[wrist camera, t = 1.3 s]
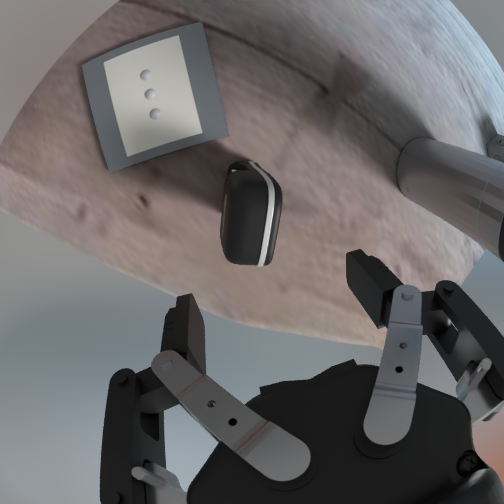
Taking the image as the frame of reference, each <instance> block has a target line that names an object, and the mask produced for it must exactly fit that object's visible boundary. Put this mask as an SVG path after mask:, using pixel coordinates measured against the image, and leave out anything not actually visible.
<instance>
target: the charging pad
mask: <svg viewBox="0 0 504 504" xmlns="http://www.w3.org/2000/svg"><path fill="white" fill-rule="evenodd" d="M82 69H83V74H84V79H85V84H86V89H87V93H88V98H89V102H90V106H91V110H92V114H93V118H94V122H95V126H96V130H97V133H98V137H99V140H100V144H101V147H102V150H103V154H104V157H105V160H106V163H107V166H108V170H109V173H113V172H115V171H118V170H120V169H123V168H126V167H128V166H131V165H134V164H137V163H139V162H142V161H145V160H148V159H151V158H154V157H157V156H160V155H163V154H166V153H170V152H173V151H176V150H179V149H183V148H186V147H190V146H193V145H197V144H200V143H204V142H208V141H212V140H215V139H219V138H223V137H228V136H229V132H228V128H227V124H226V119H225V115H224V111H223V107H222V103H221V98H220V94H219V90H218V86H217V82H216V77H215V73H214V69H213V65H212V61H211V57H210V53H209V48H208V44H207V40H206V36H205V32H204V28H203V24H202V22H198V23H193V24H189V25H185V26H181V27H178V28H174V29H171V30H167V31H164V32H161V33H157V34H154V35H151V36H148V37H145V38H143V39H140V40H137V41H134V42H132V43H129V44H127V45H124V46H122V47H119V48H117V49H114V50H112V51H110V52H108V53H105V54H103V55H101V56H99V57H97V58H95V59H93V60H91V61H89V62H87V63H85V64H83V65H82Z"/></svg>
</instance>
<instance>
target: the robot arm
mask: <svg viewBox="0 0 504 504" xmlns="http://www.w3.org/2000/svg"><path fill="white" fill-rule="evenodd" d="M397 179H398V184H399V187H400V189H401V191H402V193H403V194H404V195H405V197H407V198H408V199H410V200H411V201H413V202H415V203H416V204H418V205H420V206H422V207H423V208H425V209H427V210H428V211H430V212H432V213H433V214H435V215H436V216H438V217H440V218H441V219H443V220H445V221H446V222H448V223H449V224H451V225H452V226H454V227H455V228H457V229H459V230H460V231H462V232H463V233H464V234H466V235H467V236H469V237H470V238H472V239H473V240H475V241H476V242H478V243H479V244H480V245H482V246H483V247H485V248H486V249H487V250H489V251H490V252H491V253H493V254H494V255H496V256H497V257H498V258H499V259H501V260H502V261H503V262H504V163H502V162H500V161H497V160H495V159H492V158H489V157H487V156H484V155H481V154H478V153H475V152H472V151H469V150H466V149H463V148H460V147H457V146H453V145H450V144H446V143H443V142H439V141H436V140H432V139H428V138H423V137H422V138H416V139H413V140H412V141H410V142H409V143H408V144H407V145H406V146H405V148H404V149H403V151H402V153H401V155H400V158H399V161H398V166H397ZM346 278H347V283H348V286H349V288H350V289H351V291H352V292H353V294H354V295H355V296H356V298H357V299H358V301H359V302H360V303H361V305H362V306H363V308H364V309H365V311H366V312H367V314H368V315H369V316H370V318H371V319H372V321H373V322H374V324H375V325H376V327H377V328H378V329H380V328H382V327H385V326H386V327H387V329H388V330H387V335H386V340H385V345H384V350H383V355H382V358H381V363H380V367H378V366H375V365H366V364H364V365H363V364H362V365H357V364H356V362H355V360H354V359H352V360H349V361H346V362H344V363H341V364H338V365H335V366H332V367H330V368H329V369H327V370H325V371H324V372H322V373H320V374H318V375H317V376H315V377H313V378H311V379H308V380H295V381H282V382H279V383H275V384H271V385H267V386H263V387H260V392H261V394H259V395H257V396H256V397H254V398H252V399H251V400H250V401H248V402H247V403H246V404H245V405H244V404H243V403H242V402H240V401H239V400H238V399H236V398H235V397H234V396H232V395H231V394H230V393H229V392H227V391H226V390H225V389H224V388H222V387H221V386H220V385H218V384H217V383H216V382H215V381H214V380H213V379H211V378H210V377H209V376H208V375H206V359H205V327H204V321H203V317H202V315H201V312H200V310H199V308H198V305H197V303H196V301H195V298H194V296H193V294H192V293H190V294H186V295H182V296H178V297H177V301H176V307H174V308H170V309H169V311H168V313H167V314H166V316H165V323H164V329H163V330H164V331H163V336H162V343H161V351H160V353H159V354H158V355H156V356H155V358H154V359H153V361H152V363H151V367H149V368H147V369H145V370H143V371H140V372H138V373H136V374H135V372H134V371H133V370H131V369H128V368H125V369H121V370H119V371H117V372H116V373H115V374H114V375H113V376H112V378H111V380H110V384H109V390H108V396H107V403H106V410H105V418H104V427H103V439H102V450H101V467H100V501H101V504H504V488H503V485H502V483H501V481H500V479H499V476H498V475H497V473H496V472H495V471H494V470H493V469H492V468H491V467H490V466H488V465H487V464H486V463H485V462H484V461H482V459H481V458H480V457H479V456H478V455H477V453H476V451H475V448H474V444H473V438H472V427H473V426H474V425H476V424H477V423H479V422H480V421H489V420H491V419H492V418H494V416H496V415H497V414H498V413H499V411H500V410H501V409H502V408H503V407H504V337H503V336H502V335H501V333H500V332H499V331H498V329H497V328H496V327H495V326H494V325H493V323H492V322H491V321H490V320H489V319H488V317H487V316H486V315H485V314H484V313H483V312H482V311H481V309H480V308H479V307H478V306H477V305H476V304H475V303H474V302H473V301H472V299H471V298H470V297H469V296H468V295H467V294H466V293H465V292H464V291H463V290H462V289H461V288H460V287H459V286H458V285H457V284H456V283H454V282H452V281H449V280H443V281H440V282H438V283H437V284H436V287H435V290H434V291H426V292H421V291H420V290H419V289H418V288H417V287H415V286H412V285H404V284H403V283H402V282H401V281H400V280H399V279H398V278H397V277H396V276H395V275H394V274H393V273H392V272H391V271H390V270H389V268H388V267H387V266H385V264H384V263H383V262H382V261H381V260H380V259H378V258H376V257H373V256H367V255H366V254H365V253H364V252H363V251H362V250H361V249H358V250H355V251H351V252H348V253H347V254H346ZM451 321H452V323H453V324H454V325H455V327H456V328H457V330H458V331H457V330H456V329H455V327H454V326H453V325H452V323H451ZM422 335H427V336H428V337H429V339H430V340H431V342H432V343H433V345H434V346H435V348H436V349H437V351H438V352H439V354H440V355H441V357H442V359H443V360H444V362H445V363H446V365H447V366H448V368H449V370H450V371H451V373H452V374H453V376H454V378H455V380H456V381H457V386H456V394H457V396H458V397H457V398H456V397H453V396H451V395H448V394H445V393H443V392H440V391H438V390H435V389H432V388H430V387H427V386H425V385H422V384H420V383H418V382H417V379H418V372H419V364H420V354H421V345H422ZM178 404H180V405H181V406H182V407H183V408H184V409H185V410H186V411H187V412H188V413H189V414H190V415H191V416H192V417H193V418H194V419H195V420H196V421H197V422H198V423H199V424H200V425H201V426H202V427H203V428H204V429H205V430H206V431H207V432H208V433H209V434H210V435H211V436H212V437H213V438H214V439H215V440H216V441H218V445H217V446H216V448H215V449H214V451H213V452H212V454H211V455H210V457H209V458H208V460H207V461H206V463H205V464H204V466H203V467H202V468H201V470H200V471H199V473H198V474H197V475H196V477H195V478H194V479H193V481H192V482H191V484H190V486H189V488H188V491H187V492H184V491H183V489H182V488H181V486H180V483H179V480H178V478H177V477H176V476H175V475H174V474H173V473H171V472H170V471H168V470H166V459H165V441H164V410H166V409H169V408H171V407H173V406H176V405H178Z"/></svg>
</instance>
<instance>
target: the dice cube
mask: <svg viewBox="0 0 504 504" xmlns="http://www.w3.org/2000/svg"><path fill="white" fill-rule="evenodd" d="M487 150H488V155H489V158H492V159H495V160H497V161H500V162H502V163H504V136H502V135H499V134H497V135H496V136H495V137H494V138H493V139H492V140H491V141H490V142H489V143H488V144H487Z"/></svg>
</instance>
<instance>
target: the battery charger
mask: <svg viewBox="0 0 504 504" xmlns="http://www.w3.org/2000/svg"><path fill="white" fill-rule="evenodd" d="M281 210H282V191H281V187H280V186H279V184H278V183H277V181H276V180H275V179H274V178H273V177H272V176H271V175H270V174H269V173H267V172H266V171H265V170H263V169H262V168H261V167H260V166H259V165H258V164H257V163H254V162H253V161H248V162H244V161H241V162H235V163H233V164H231V165H230V167H229V169H228V175H227V178H226V180H225V186H224V195H223V207H222V216H221V226H220V238H221V244H222V248H223V252H224V255H225V257H226V259H227V260H228V261H229V262H231V263H233V264H239V265H255V266H263V265H268V264H270V263H271V261H272V258H273V254H274V249H275V244H276V239H277V234H278V228H279V222H280V216H281Z"/></svg>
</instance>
